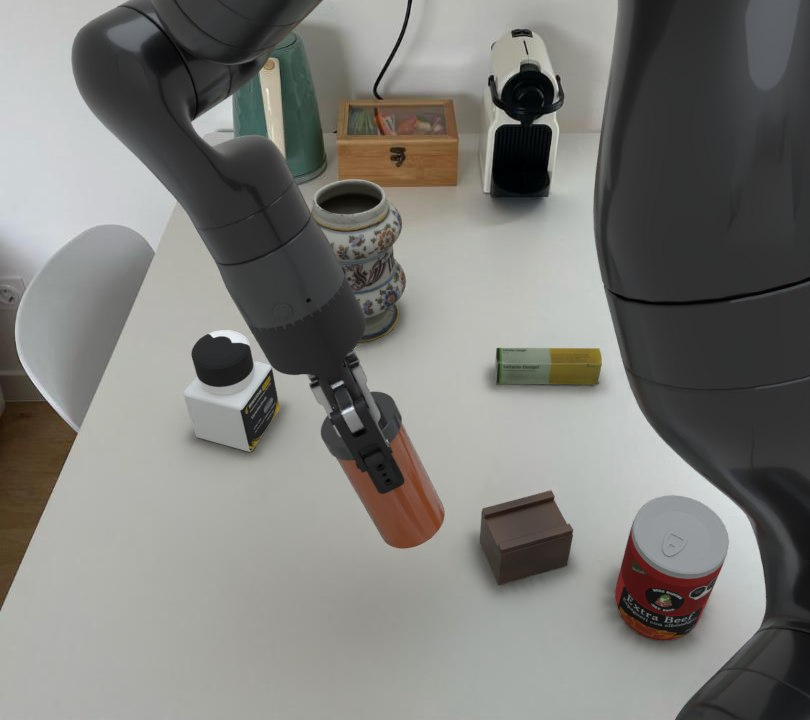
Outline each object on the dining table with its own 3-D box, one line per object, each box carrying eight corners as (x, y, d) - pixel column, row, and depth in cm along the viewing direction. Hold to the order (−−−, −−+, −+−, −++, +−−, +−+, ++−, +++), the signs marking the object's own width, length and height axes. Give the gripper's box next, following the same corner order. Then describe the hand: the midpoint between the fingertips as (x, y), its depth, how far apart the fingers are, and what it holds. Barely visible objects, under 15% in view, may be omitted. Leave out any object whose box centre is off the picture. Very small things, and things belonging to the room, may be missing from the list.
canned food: (605, 628, 72) (624, 557, 65) (622, 556, 77) (641, 483, 70) (694, 656, 70) (724, 587, 62) (705, 580, 75) (734, 508, 68)
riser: (545, 524, 80) (551, 488, 77) (567, 565, 77) (574, 530, 73) (479, 542, 79) (481, 507, 75) (498, 585, 76) (501, 551, 72)
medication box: (494, 386, 95) (495, 363, 92) (494, 368, 97) (495, 346, 94) (598, 386, 94) (603, 363, 91) (596, 368, 96) (600, 345, 93)
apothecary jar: (365, 277, 111) (356, 159, 99) (426, 317, 104) (424, 196, 92) (295, 317, 105) (276, 196, 93) (354, 362, 99) (342, 238, 86)
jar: (371, 514, 71) (435, 482, 71) (388, 563, 66) (456, 529, 66) (314, 414, 64) (384, 380, 64) (328, 460, 59) (404, 422, 59)
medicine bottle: (251, 454, 88) (232, 374, 80) (194, 438, 90) (170, 358, 82) (281, 409, 93) (266, 330, 85) (226, 395, 95) (207, 316, 87)
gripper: (364, 312, 49) (451, 496, 58) (322, 230, 61) (401, 393, 71) (252, 366, 49) (358, 542, 58) (233, 273, 61) (323, 430, 70)
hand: (381, 459), depth 64 cm, fingers closed on jar, 6 cm apart
